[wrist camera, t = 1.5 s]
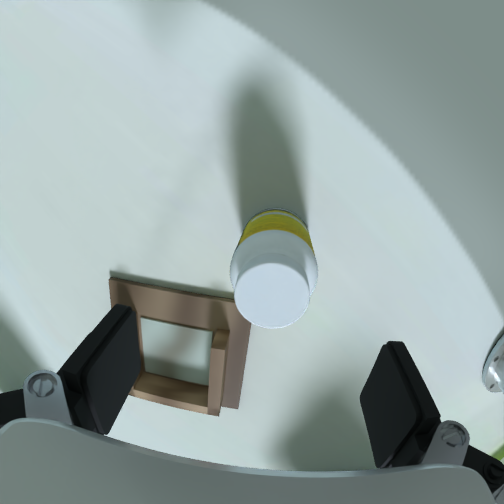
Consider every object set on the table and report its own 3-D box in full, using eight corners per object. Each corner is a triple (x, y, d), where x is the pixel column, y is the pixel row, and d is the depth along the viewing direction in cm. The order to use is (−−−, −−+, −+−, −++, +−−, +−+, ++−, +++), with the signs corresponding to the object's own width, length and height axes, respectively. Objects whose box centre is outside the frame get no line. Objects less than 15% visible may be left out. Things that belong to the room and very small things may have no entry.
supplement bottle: (236, 212, 24) (210, 255, 15) (304, 202, 24) (320, 239, 14) (249, 274, 26) (232, 343, 17) (312, 265, 25) (328, 332, 16)
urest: (254, 302, 27) (250, 324, 24) (238, 405, 32) (234, 428, 28) (111, 277, 27) (93, 293, 24) (125, 379, 32) (113, 399, 29)
